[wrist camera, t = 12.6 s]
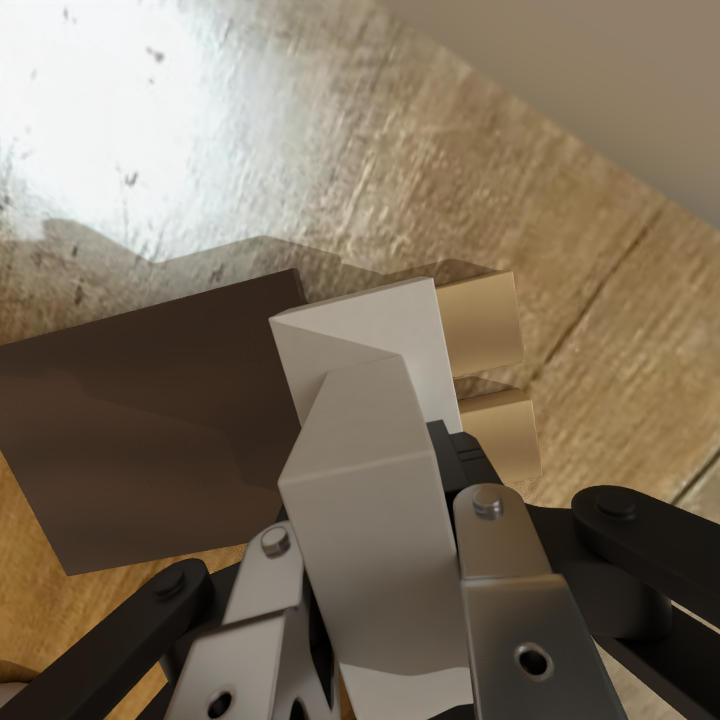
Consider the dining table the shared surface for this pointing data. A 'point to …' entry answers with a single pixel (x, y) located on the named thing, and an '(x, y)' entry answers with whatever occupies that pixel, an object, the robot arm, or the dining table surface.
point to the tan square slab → (504, 432)
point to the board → (153, 426)
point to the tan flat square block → (481, 322)
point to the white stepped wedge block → (377, 494)
